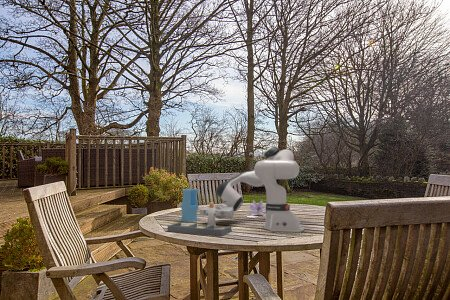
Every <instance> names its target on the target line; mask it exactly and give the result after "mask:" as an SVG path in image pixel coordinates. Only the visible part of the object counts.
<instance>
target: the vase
mask: <svg viewBox="0 0 450 300" xmlns="http://www.w3.org/2000/svg"><path fill="white" fill-rule="evenodd" d="M181 191H182V196H183V197H182V202H181V204H180V208H181V219H180V222H185V223H193V222H198V215H197V214H198V209H199V204H198V203H199V202H198V200H197V198H198V197H197V196H198V193H199V189H197V188H195V189H193V188H188V189H187V188H186V189H185V188H184V189H181Z"/></svg>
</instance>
